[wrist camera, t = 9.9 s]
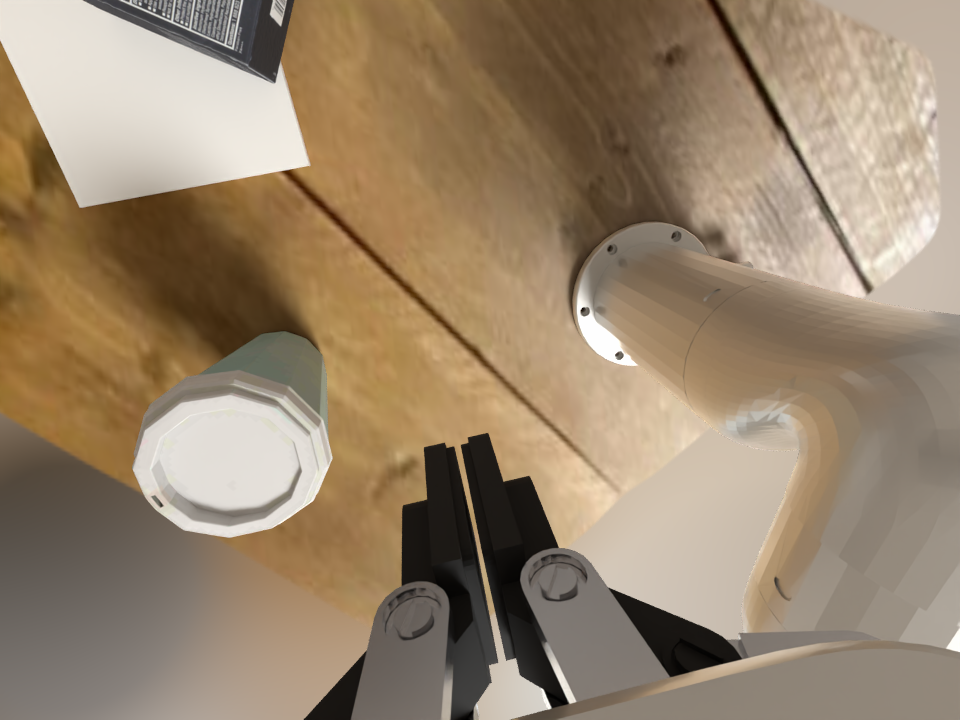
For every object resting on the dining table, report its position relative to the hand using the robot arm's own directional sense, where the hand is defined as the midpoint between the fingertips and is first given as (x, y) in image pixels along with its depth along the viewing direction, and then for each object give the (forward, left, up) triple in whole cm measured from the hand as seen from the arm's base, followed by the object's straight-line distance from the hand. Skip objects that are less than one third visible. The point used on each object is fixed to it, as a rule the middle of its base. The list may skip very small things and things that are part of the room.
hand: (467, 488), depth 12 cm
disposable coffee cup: (+13, +6, -29) cm, 33 cm away
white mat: (+15, -17, -29) cm, 37 cm away
